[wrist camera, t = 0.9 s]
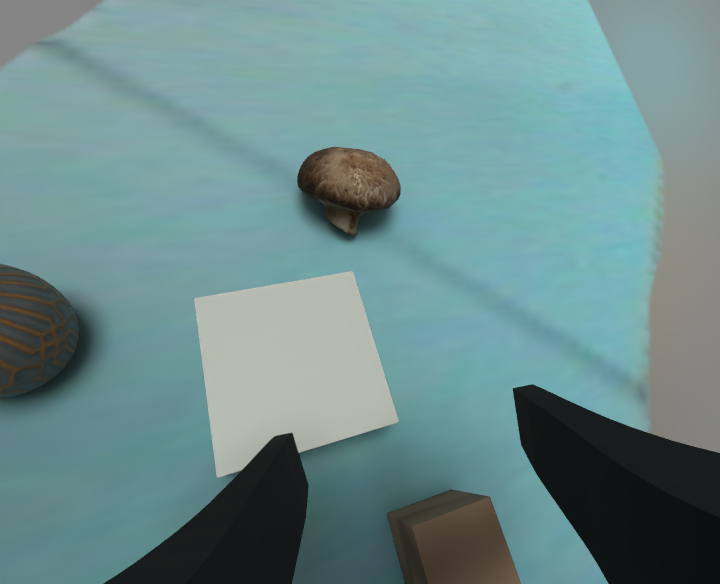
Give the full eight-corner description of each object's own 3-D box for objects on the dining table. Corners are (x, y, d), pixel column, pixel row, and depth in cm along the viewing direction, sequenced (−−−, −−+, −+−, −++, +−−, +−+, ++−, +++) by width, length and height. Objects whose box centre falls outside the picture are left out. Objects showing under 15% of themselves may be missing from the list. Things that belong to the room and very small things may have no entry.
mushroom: (361, 255, 26) (373, 162, 23) (274, 226, 29) (275, 142, 26) (406, 230, 32) (420, 155, 29) (331, 209, 35) (336, 140, 32)
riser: (382, 427, 25) (399, 422, 21) (227, 474, 22) (217, 477, 18) (343, 294, 28) (352, 271, 25) (206, 321, 25) (194, 298, 22)
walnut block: (477, 570, 22) (526, 599, 18) (409, 600, 21) (444, 639, 16) (450, 489, 24) (489, 496, 19) (386, 513, 22) (411, 526, 18)
